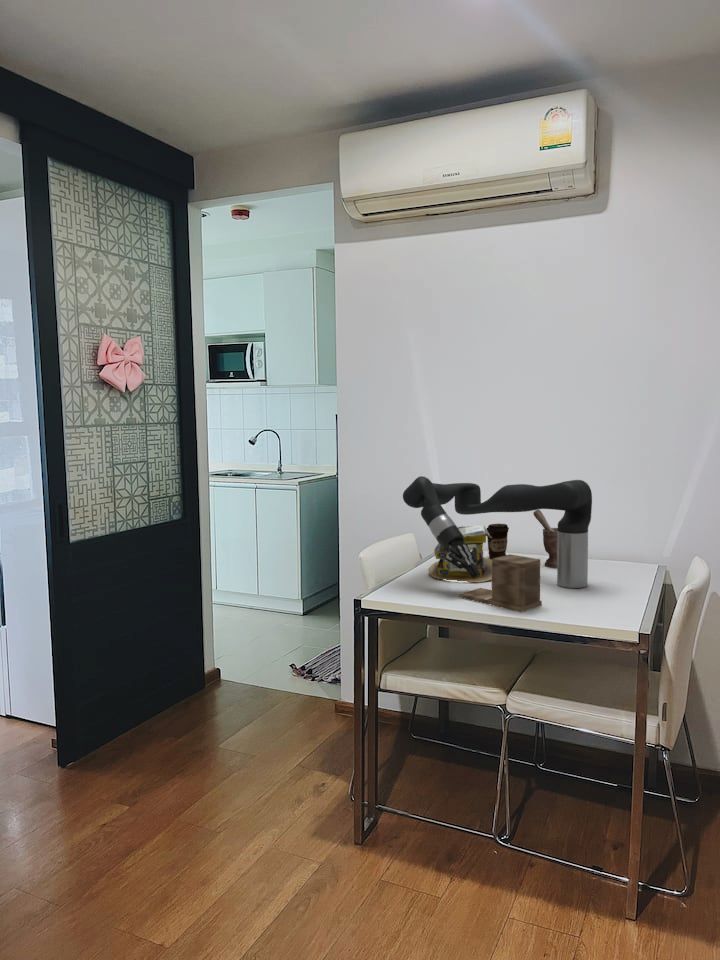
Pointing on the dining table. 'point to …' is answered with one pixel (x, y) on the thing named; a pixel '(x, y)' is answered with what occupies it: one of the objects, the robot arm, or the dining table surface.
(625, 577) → the dining table surface
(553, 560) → the mortar and pestle
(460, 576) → the stacked packages on board
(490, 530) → the coffee cup
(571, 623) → the dining table surface
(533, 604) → the walnut socket base
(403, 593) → the dining table surface
